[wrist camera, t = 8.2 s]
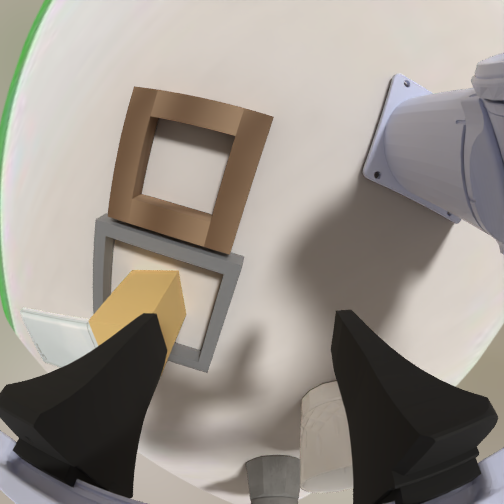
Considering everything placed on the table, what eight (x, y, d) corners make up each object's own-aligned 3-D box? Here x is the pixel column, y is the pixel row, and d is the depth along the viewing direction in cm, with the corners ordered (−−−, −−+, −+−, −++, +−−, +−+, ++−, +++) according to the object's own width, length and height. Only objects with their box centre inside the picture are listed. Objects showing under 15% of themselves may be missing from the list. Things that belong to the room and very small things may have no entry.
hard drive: (44, 363, 26) (119, 385, 25) (18, 311, 23) (94, 327, 22) (50, 356, 28) (125, 375, 27) (26, 304, 24) (102, 317, 24)
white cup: (296, 379, 25) (302, 471, 15) (374, 371, 24) (401, 454, 15) (294, 421, 28) (297, 496, 18) (360, 413, 27) (375, 484, 18)
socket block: (273, 118, 16) (273, 116, 15) (232, 246, 19) (229, 254, 18) (143, 89, 15) (134, 86, 14) (117, 210, 19) (107, 216, 17)
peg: (178, 270, 21) (144, 327, 14) (186, 314, 22) (160, 376, 16) (132, 270, 21) (88, 321, 14) (142, 311, 22) (108, 367, 16)
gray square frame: (244, 256, 20) (242, 265, 18) (210, 361, 24) (207, 372, 23) (105, 213, 19) (95, 219, 18) (101, 322, 23) (94, 331, 22)
